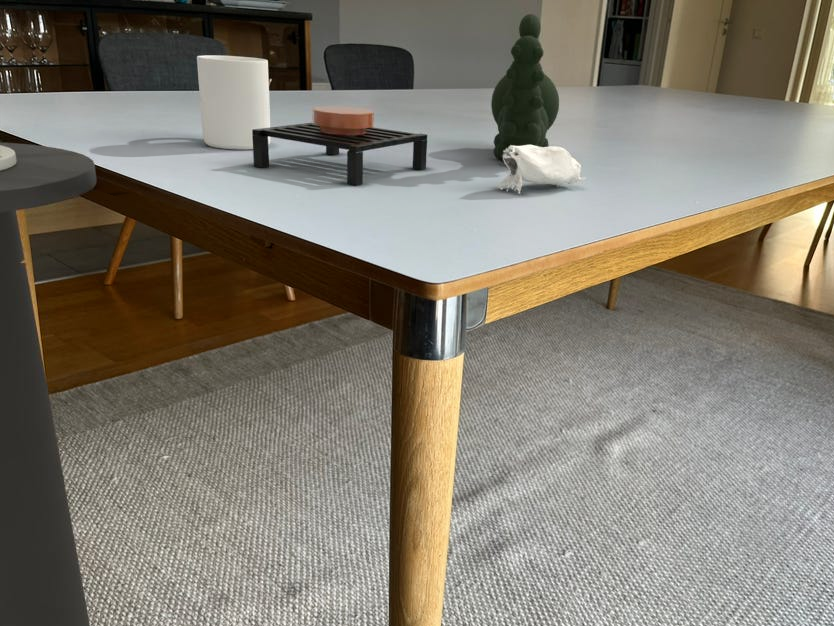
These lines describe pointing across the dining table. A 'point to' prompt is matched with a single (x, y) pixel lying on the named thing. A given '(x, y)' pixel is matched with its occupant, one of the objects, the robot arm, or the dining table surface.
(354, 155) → the rack
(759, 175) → the dining table surface
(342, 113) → the terracotta round box
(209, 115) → the mug
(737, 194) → the dining table surface
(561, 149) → the white lumpy oblong piece
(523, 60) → the toy figurine
